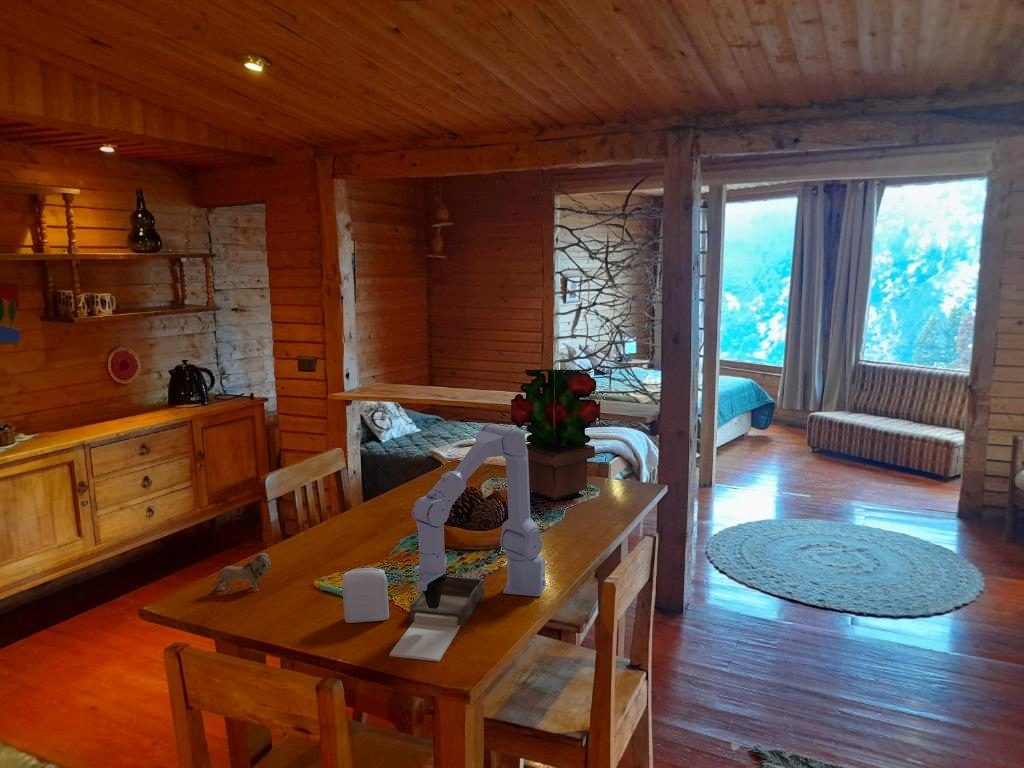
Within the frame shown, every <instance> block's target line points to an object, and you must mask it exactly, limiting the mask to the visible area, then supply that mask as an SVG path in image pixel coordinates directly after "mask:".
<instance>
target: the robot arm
mask: <svg viewBox="0 0 1024 768" xmlns="http://www.w3.org/2000/svg"><path fill="white" fill-rule="evenodd" d="M526 444H527V443H526V433H524V432H523V431H522V430H521V429H519V428H518V427H508V426H503V425H498V424H495V423H493V422H488V423H485V424H484V425H483V426H482V427H481V429H480V430H479V431H477V433H476V435H475V442H474V444H472V446H471V448H470V449H469V450H468V451H467V453H466V454H465V455H464V457H463V458H462V459H461V461H460V462H459V464H458V465H457V466H456V468H455V470H451V471H448V470H447V471H446V472H445V473H443V474H442V475H441V476H440V479H439V480H438V482H436V483H435V485H434V486H433V487H432V489H431V490H429V492H428V493H427V494H426V495H423V496H421V497H419V498H418V499H417V500H415V503H414V505H413V509H412V510H411V515H412V518H413V519H414V520H415V522H416V527H417V535H418V536H417V537H418V538H417V539H418V565H416V566H415V567H414V572H415V573H418V576H417V577H418V578H417V581H416V590H417V591H420V592H421V591H423V593H424V595H425V598H426V602H427V605H428V608H432V609H437V608H438V607H439V603H440V598H441V593H442V589H443V585H444V583H445V580H446V578H447V576H448V574H447V573H446V572H447V565H448V559H447V558H448V557H447V556H445V555H446V554H445V553H446V552H445V551H446V550H445V524H444V523H446V522H447V521H448V519H449V516H450V511H451V510H452V507H453V504H454V503H455V502H456V501H457V500H458V499H459V497H460V496H461V495H462V494H463V492H464V491H465V490H466V488H467V480H468V479H469V478H470V477H471V476H472V475H473V474H474V473H475V471H476V470H478V468H480V466H481V465H482V464H483V463H484V462H485V461H486V460H487V459H489V458H494V457H495V458H497V457H502V458H504V459H505V467H506V469H505V470H506V471H505V472H506V489H507V513H508V515H507V516H508V519H507V520H505V521H504V522H503V523H502V525H501V527H502V530H501V534H500V539H499V540H500V546H501V548H502V549H504V554H506V559H507V563H506V564H507V565H506V566H507V568H506V571H507V573H506V574H507V583H506V585H505V587H504V589H503V594H507V595H517V596H526V597H527V596H529V597H541V596H542V593H543V591H544V589H545V587H546V584H547V583H546V558H545V556H541V555H539V554H540V553H541V551H542V548H543V537H542V536H541V534H540V527H539V526H538V525H537V523H536V522H535V521H534V520H533V518H531V501H530V500H531V499H530V498H531V496H530V490H529V469H528V449H527V447H526Z"/></svg>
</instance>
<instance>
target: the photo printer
mask: <svg viewBox="0 0 1024 768" xmlns="http://www.w3.org/2000/svg"><path fill="white" fill-rule="evenodd" d="M341 587H342V598H343V599H342V600H343V612H344V621H345V623H347V624H348V623H349V624H350V623H353V624H354V623H366V622H367V623H368V622H380V621H386V620H388V619H389V617H390V610H389V609H390V608H389V606H390V605H389V594H388V593H389V592H388V591H389V590H388V577H387V575H386V572H385V570H384V569H381V568H374V567H362V568H361V567H360V568H355V569H351V570H349V571H346V572H344V573H343V577H342V586H341Z"/></svg>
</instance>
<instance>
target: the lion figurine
mask: <svg viewBox="0 0 1024 768" xmlns="http://www.w3.org/2000/svg"><path fill="white" fill-rule="evenodd" d="M271 564H272V563H271V557H270V554H268V553H266V552H265V553H264V552H261V553H259V554H257V555H256V557H254V559H252V560H251V561H248V563H246V564H245V565H243V566H234V565H227V566H224V567H223V568H221V569H220V571H219V572H218V573H219V574H218V576H217V582H216V586H215V587H214V589H213V590H212V591H211V592H210V593H211V594H213V593H216V592H217V590H219V591H225V590H226V591H225V592H226V593H227V594H228V595H229V596H230V595H234V590H231V589H230V585H231V581H232V579H234V580H236V581H241V582H244V581H249V580H250V586H251V588H252V591H253V592H254V593H257V592H259V591H260V589H259V588H258V584H257V583H258V581H257V580H259V579H262V578H264V576H265V575H266V573H267V572H268V571H269V570H270V568H271ZM221 577H222V578H221ZM224 584H225V586H223V585H224Z"/></svg>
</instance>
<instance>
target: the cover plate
mask: <svg viewBox="0 0 1024 768" xmlns="http://www.w3.org/2000/svg"><path fill="white" fill-rule="evenodd" d="M460 628H461V627H460V625H458V617H457V616H448V615H438V614H428V613H419V612H416V614H415V615H414V622H413V621H412V623H411V625H410V626H409V627H408V629H407V630H406V631H405V633H404V634H403V635H402V637H401V638H399V640H398V642H397V643H396V644H395V645H394V647H393V648H392V650H391V651H390V653H389V657H395V658H403V659H404V658H406V659H416V660H423V661H432V662H440V661H441V659H442V657H444V655H445V653H446V652H447V650H448V648H449V646H450V645H451V643H452V641H454V638H455V636H456V635H457V633H458V632H459V630H460Z"/></svg>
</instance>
